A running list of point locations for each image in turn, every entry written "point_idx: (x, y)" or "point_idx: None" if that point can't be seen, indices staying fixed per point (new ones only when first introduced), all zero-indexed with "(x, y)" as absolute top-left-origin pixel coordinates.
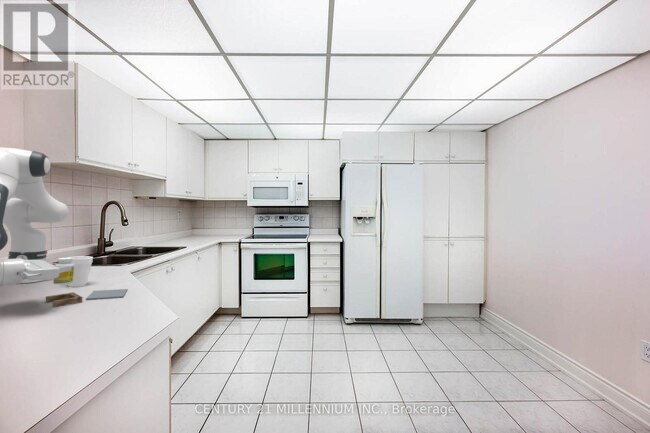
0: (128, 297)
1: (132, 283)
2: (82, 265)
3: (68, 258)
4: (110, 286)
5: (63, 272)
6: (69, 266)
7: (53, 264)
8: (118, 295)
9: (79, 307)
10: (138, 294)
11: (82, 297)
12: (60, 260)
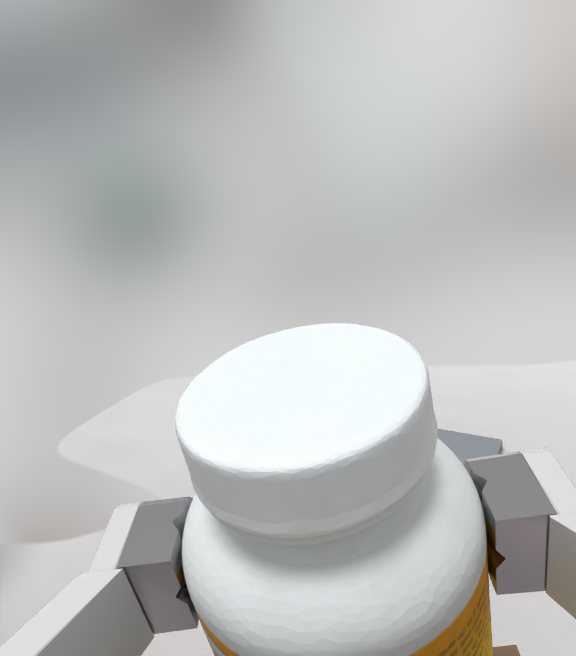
0: (511, 428)
1: (182, 386)
2: None
3: (335, 351)
4: (150, 460)
5: (487, 617)
6: (546, 460)
7: (61, 653)
8: (465, 454)
9: None
10: (459, 391)
11: (516, 647)
12: (391, 466)
